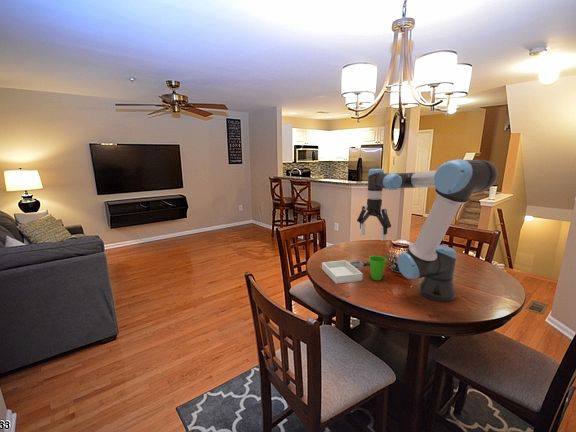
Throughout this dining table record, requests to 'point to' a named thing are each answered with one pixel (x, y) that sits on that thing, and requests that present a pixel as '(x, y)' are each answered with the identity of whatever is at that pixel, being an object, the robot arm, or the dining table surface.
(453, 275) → the robot arm
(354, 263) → the scoop
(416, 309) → the dining table surface
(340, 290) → the dining table surface
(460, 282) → the dining table surface
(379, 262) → the cup
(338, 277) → the bin
